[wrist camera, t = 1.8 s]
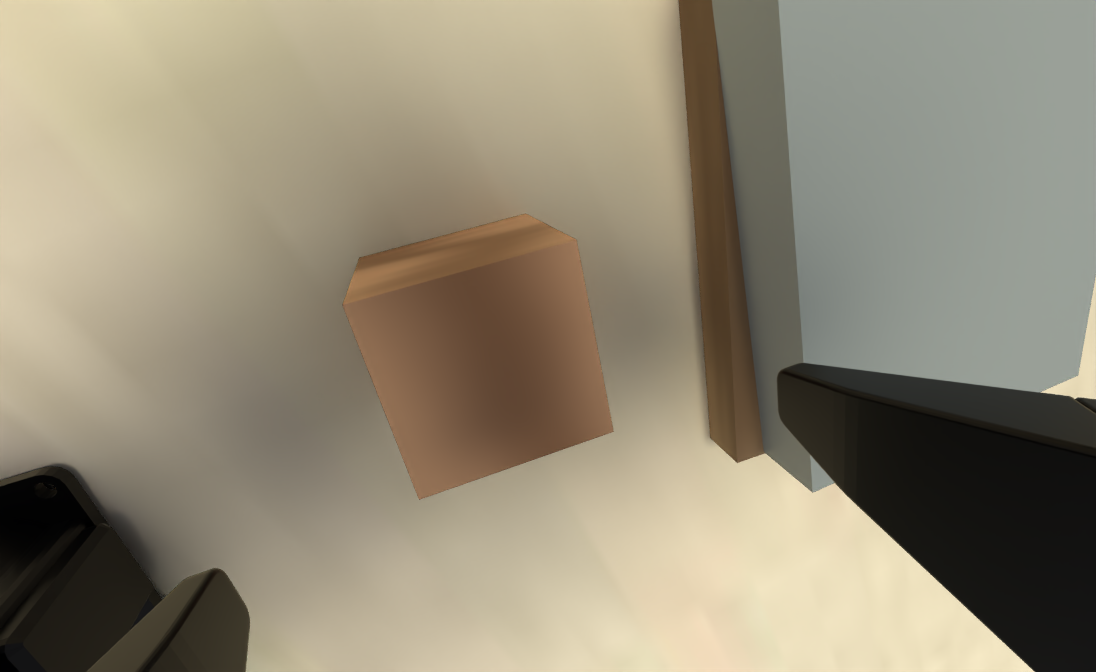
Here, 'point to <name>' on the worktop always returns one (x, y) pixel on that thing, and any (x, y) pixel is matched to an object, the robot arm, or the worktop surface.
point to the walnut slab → (718, 244)
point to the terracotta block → (480, 349)
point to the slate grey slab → (911, 189)
